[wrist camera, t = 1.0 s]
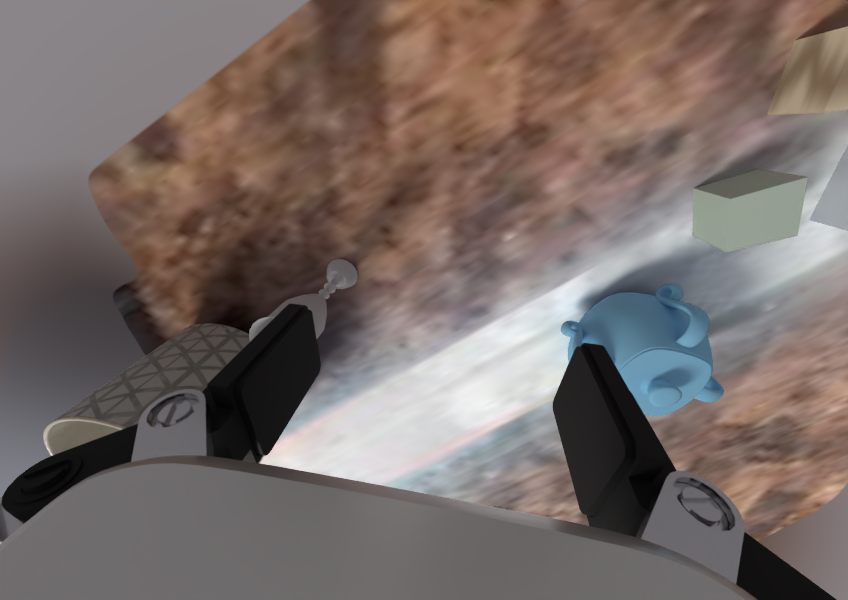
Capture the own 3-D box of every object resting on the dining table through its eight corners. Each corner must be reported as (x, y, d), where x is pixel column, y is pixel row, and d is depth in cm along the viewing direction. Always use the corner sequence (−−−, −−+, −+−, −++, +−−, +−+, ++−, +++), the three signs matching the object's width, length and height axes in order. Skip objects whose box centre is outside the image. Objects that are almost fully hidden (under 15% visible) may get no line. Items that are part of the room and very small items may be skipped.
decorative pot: (683, 356, 47) (753, 433, 35) (573, 378, 52) (603, 452, 40) (675, 265, 40) (758, 322, 28) (550, 301, 45) (577, 362, 34)
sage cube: (693, 188, 35) (730, 199, 30) (756, 169, 34) (807, 177, 28) (692, 235, 38) (726, 252, 33) (751, 219, 36) (797, 235, 31)
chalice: (339, 243, 45) (269, 304, 30) (372, 274, 47) (323, 347, 32) (312, 272, 49) (237, 341, 33) (345, 300, 50) (288, 377, 35)
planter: (255, 294, 52) (114, 401, 32) (331, 393, 63) (262, 523, 42) (165, 331, 61) (7, 436, 40) (246, 414, 71) (152, 531, 50)
